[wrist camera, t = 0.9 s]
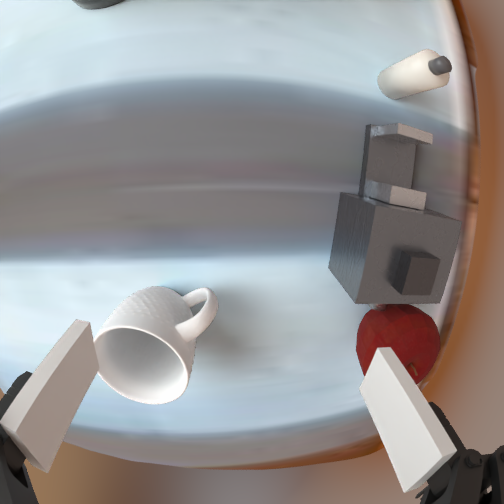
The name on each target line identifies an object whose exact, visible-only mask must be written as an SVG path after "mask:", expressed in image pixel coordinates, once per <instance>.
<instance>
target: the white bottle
mask: <svg viewBox="0 0 504 504" xmlns="http://www.w3.org/2000/svg"><path fill="white" fill-rule="evenodd" d="M451 70H452V66H451V63H450V61H449V60H448V59H447V58H446V57H445V56H440V55H439V54H438V53H436V52H435V51H432V50H429V49H425V50H422V51H420V52H418V53H416V54H414V55H412V56H410V57H408V58H406V59H404V60H402V61H400V62H398V63H396V64H394V65H392V66H390V67H388V68H386V69H384V70H382V71H381V72H380V73H379V75H378V78H377V82H378V86H379V88H380V90H381V91H382V93H383V94H384V95H385V96H387V97H388V98H391V99H400V98H403V97H406V96H410V95H413V94H417V93H421V92H424V91H428V90H432V89H436V88H440V87H443V86H445V85H447V83H448V81H449V72H450V71H451Z"/></svg>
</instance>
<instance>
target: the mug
mask: <svg viewBox="0 0 504 504" xmlns="http://www.w3.org/2000/svg"><path fill="white" fill-rule="evenodd" d="M205 300H206V303H205V305H204V306H203V308H202V309H201V311H200V312H199V313H198V314H197V315H195V316H194V317H193V315H192V311H191V310H190V308H191V307H193V306H194V305H196V304H198V303H201V302H203V301H205ZM217 311H218V300H217V297H216V295H215V294H214V292H213V291H212V290H211V289H209V288H206V287H203V288H199V289H196V290H194V291H192V292H190V293H188V294H186V295H184V296H183V297H182V296H181V295H179V294H178V293H177V292H175V291H173V290H171V289H169V288H166V287H160V286H155V287H154V286H152V287H147V288H144V289H141V290H139V291H137V292H136V293H133V294H132V295H131V296H128V297H127V298H126V299H125V300H123V302H122V303H121V304H119V305H118V307H117V308H116V309H114V311H113V313H112V314H111V315H110V316H109V318H108V319H107V320H106V321H105V323H104V324H103V326H102V327H101V329H100V330H99V332H98V333H97V335H96V336H95V338H94V340H93V341H94V346H95V350H96V355H97V359H98V363H99V367H100V368H99V370H98V372H97V373H98V374H99V376H100V377H101V378H102V379H103V381H104V382H105V383H106V384H108V385H109V386H110V387H111V388H112V389H113V390H115V391H116V392H118V393H119V394H121V395H123V396H125V397H126V398H129V399H131V400H134V401H137V402H141V403H146V404H164V403H168V402H171V401H174V400H175V399H177V398H179V397H180V396H181V395H182V394H183V393H184V392H185V390H186V388H187V386H188V382H189V378H190V374H191V371H192V365H193V359H194V356H195V348H196V347H195V343H196V337H198V336H199V335H200V334H201V333H202V332H203V331H204V330H205V329H206V328H207V327H208V326H209V325H210V324H211V322H212V321H213V319H214V318H215V316H216V314H217Z"/></svg>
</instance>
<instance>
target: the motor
mask: <svg viewBox="0 0 504 504" xmlns="http://www.w3.org/2000/svg"><path fill="white" fill-rule="evenodd" d="M432 140H433V134H430V133H428V132H425V131H422V130H419V129H416V128H413V127H410V126H407V125H404V124H401V123H394V124H388V125H382V126H375V125H366V133H365V144H364V154H363V163H362V172H361V180H360V187H359V195H355V194H349V193H342V192H341V193H340V200H339V207H338V214H337V220H336V227H335V233H334V239H333V245H332V251H331V256H330V262H329V267H328V268H329V269H330V271H331V272H332V273H333V275H334V276H335V277H336V279H337V280H338V281H339V282H340V284H341V285H342V286H343V288H344V289H345V290H346V292H347V293H348V295H349V296H350V297H351V299H352V300H353V301H354V303H355V304H369V306H370V307H371V308H372V309H374V310H377V311H385V310H386V308H387V304H427V303H440V301H441V298H442V295H443V292H444V289H445V286H446V283H447V280H448V276H449V273H450V269H451V266H452V262H453V258H454V254H455V250H456V246H457V242H458V238H459V233H460V229H461V224H462V222H461V221H459V220H456V219H454V218H451V217H448V216H446V215H443V214H440V213H437V212H435V211H432V210H429V209H426V208H424V206H425V200H426V194H427V193H424V192H421V191H417V190H413V189H411V185H412V177H413V169H414V160H415V150H416V144H432Z"/></svg>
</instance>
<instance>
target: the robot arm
mask: <svg viewBox="0 0 504 504" xmlns="http://www.w3.org/2000/svg"><path fill="white" fill-rule="evenodd" d="M72 1H73V2H75V3H76V4H77V5H78V6H80V7H82V8H86V9H99V8H104V7H108V6H111V5H114V4H116V3H119V2H121V1H123V0H72ZM99 368H100V367H99V363H98V359H97V355H96V350H95V346H94V341H93V336H92V331H91V325H90V322H86V321H82V320H77V319H76V320H75V321H74V322H73V324H72V325H71V326H70V327H69V328H68V330H67V331H66V332H65V333H64V334H63V336H62V337H61V338H60V339H59V341H58V342H57V343H56V344H55V345H54V347H53V348H52V349H51V351H50V352H49V353H48V354H47V356H46V357H45V358H44V359H43V361H42V362H41V363H40V365H39V366H38V367H37V369H36V370H35V371H34V373H33V374H32V373H30V372H28V371H26V372H25V373H23V374H22V375H20V376H19V377H17V379H16V380H15V381H14V383H13V384H12V385H11V387H10V388H9V389H8V391H7V394H5V395H4V397H3V398H2V399H1V401H0V504H39V503H38V501H37V498H36V495H35V493H34V490H33V487H32V484H31V482H30V478H29V475H28V472H27V469H26V466H25V464H24V460H25V459H27V460H28V461H29V462H30V463H31V465H33V466H34V467H37V468H38V469H41V470H42V471H45V472H47V473H48V472H49V469H50V467H51V465H52V462H53V460H54V458H55V456H56V453H57V451H58V449H59V447H60V445H61V442H62V440H63V438H64V436H65V434H66V432H67V430H68V428H69V426H70V424H71V422H72V420H73V418H74V416H75V414H76V412H77V410H78V408H79V406H80V404H81V402H82V400H83V398H84V396H85V394H86V392H87V390H88V388H89V387H90V385H91V383H92V381H93V379H94V377H95V375H96V374H97V372H98V370H99ZM359 390H360V392H361V394H362V397H363V399H364V401H365V403H366V405H367V408H368V410H369V412H370V414H371V416H372V419H373V421H374V423H375V425H376V428H377V430H378V432H379V435H380V437H381V439H382V441H383V444H384V446H385V448H386V451H387V453H388V455H389V458H390V460H391V462H392V465H393V467H394V470H395V472H396V474H397V477H398V479H399V482H400V484H401V487H402V489H403V492H404V493H405V492H408V491H411V490H414V489H416V488H418V487H420V486H421V485H422V484H423V483H424V482H426V481H427V482H428V484H429V485H428V486H427V487H426V488H424V489H423V490H422V491H421V492H420V493H418V494H417V496H416V498H419V497H420V496H421V495H422V494H423V497H422V498H421V502H420V504H504V445H503V446H500V447H499V448H498V449H497V450H496V451H495V452H494V453H493V454H486V455H481V454H480V453H479V452H478V451H476V450H474V449H468V450H467V449H466V448H465V447H464V445H463V443H462V442H461V440H460V438H459V437H458V435H457V434H456V432H455V430H454V429H453V427H452V426H451V425H450V423H449V421H448V420H447V419H446V416H445V415H444V413H443V412H442V410H441V409H440V408H439V407H438V406H437V405H436V404H434V403H433V402H429V403H428V402H427V401H426V399H425V398H424V396H423V394H422V393H421V391H420V390H419V388H418V387H417V385H416V384H415V382H414V381H413V379H412V378H411V376H410V375H409V373H408V372H407V370H406V369H405V367H404V366H403V364H402V363H401V362H400V360H399V359H398V357H397V356H396V354H395V353H394V351H393V350H392V349H391V347H382V348H377V350H376V352H375V355H374V357H373V359H372V362H371V364H370V366H369V369H368V371H367V373H366V375H365V377H364V380H363V382H362V384H361V386H360V388H359ZM489 486H492V491H491V492H489V493H487V488H488V487H489Z"/></svg>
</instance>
